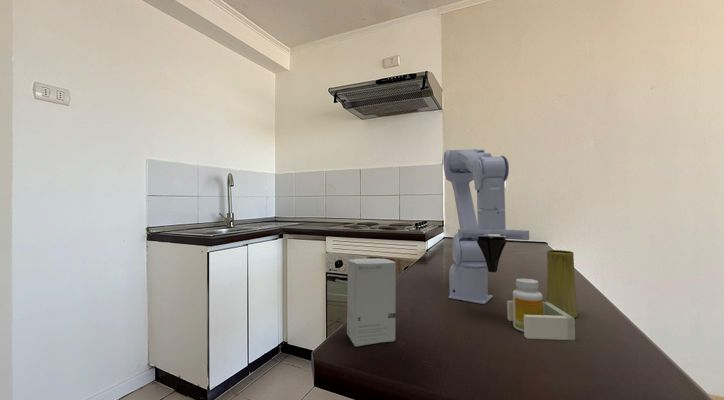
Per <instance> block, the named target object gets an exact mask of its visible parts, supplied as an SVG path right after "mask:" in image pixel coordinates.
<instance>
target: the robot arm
mask: <svg viewBox="0 0 724 400" xmlns="http://www.w3.org/2000/svg"><path fill="white" fill-rule="evenodd" d="M442 160H443V171H444V176H445V180H447V181H448V182H449V183H451V186H452V190H453V194H454V195H453V196H454V200H455V205H456V206H455V207H456V211H457V212H456V213H457V218H458V224H459V228H458V230H457V233H455V234H454V236H453V237H452V240H451V245H452V246H451V248H452V250H451V253H452V259H453V261H454V263H452V264H451V266H450V268H449V275H448V276H449V277H448V279H449V281H448V282H449V296H448V298H449V299H453V300H458V301H463V302H470V303H474V304H481V305H486V304H487V303H488V302H489V301H490V300H491V299H492V298H493V295H492V294H488V293H489V291H488V290H489V288H488V286H489V285H488V284H489V283H488V272H489V273H497V272H498V266H499V261H500V258H501V255H502V253H503V250H504V248H505V246H506V244H507V241H508V240H519V241H529V240H530V230H525V229H524V230H523V229H522V230H521V229H519V230H518V229H506V197H505V196H506V193H505V192H506V191H505V182H506V181H507V179H508V177H509V173H510V165H509V160H508V158H507V157H506V156H505V155H500V156H493V155H492V154H491V153H490V152H485V149H483V148H480V149H479V148H478V149H477V148H473V149H446V150H445V151H444V153H443V159H442ZM472 181H474V190H475V191H476V208H477V210H476V211H477V212H475V207H474V203H473V201H474V200H473V198H472V197H473V196H472V192H471V191H472V190H471V187H470V183H471V182H472ZM476 213H477V215H476ZM476 216H477V217H476ZM495 235H496V236H495ZM497 235H499V236H497Z"/></svg>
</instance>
